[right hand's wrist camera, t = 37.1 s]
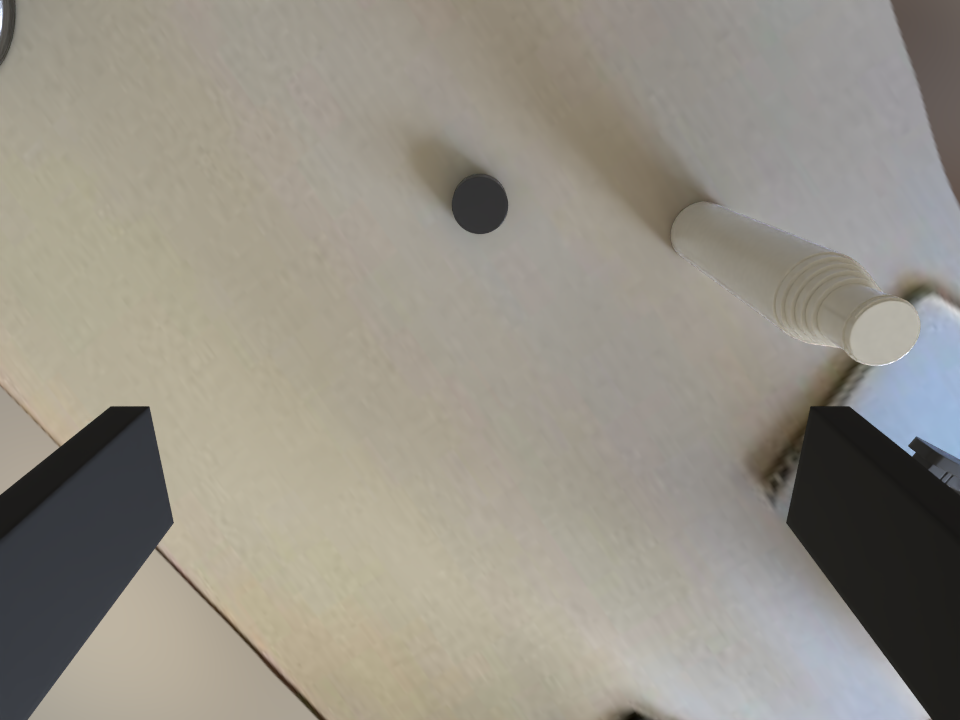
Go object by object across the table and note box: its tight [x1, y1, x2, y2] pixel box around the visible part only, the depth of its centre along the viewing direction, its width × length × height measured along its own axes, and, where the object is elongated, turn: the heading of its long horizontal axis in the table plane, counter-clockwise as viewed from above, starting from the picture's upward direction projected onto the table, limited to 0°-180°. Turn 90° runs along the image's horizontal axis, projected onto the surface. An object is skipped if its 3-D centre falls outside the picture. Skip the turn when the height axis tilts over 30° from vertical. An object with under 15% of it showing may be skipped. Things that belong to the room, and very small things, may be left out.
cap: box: [452, 174, 508, 234], centre depth 50 cm, size 4×4×2 cm
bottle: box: [671, 202, 920, 366], centre depth 40 cm, size 5×5×25 cm
